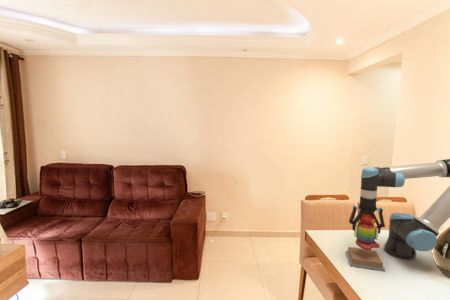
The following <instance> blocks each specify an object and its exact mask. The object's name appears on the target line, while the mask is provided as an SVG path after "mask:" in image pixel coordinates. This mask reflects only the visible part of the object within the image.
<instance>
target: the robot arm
mask: <svg viewBox="0 0 450 300" xmlns="http://www.w3.org/2000/svg"><path fill="white" fill-rule="evenodd" d="M432 177H439V178H442V179H444V178H450V158H446V159H439V160H436V161H435V162H427V163H426V162H425V163H417V164H408V165H395V166H387V167H378V166H373V167H363V168H362V170H361V175H360V178H361V179H360V192H359V193H360V194H359V195H360V196H359V204H358V205H355V204H353V205H352V210H351V211H352V212H351V214H350V217H349V219H348V222H349V224H350V225H352V227H351V229H352V231H353V236H354V238H357V237H356V236H357V225H358V223H359V221H360V218H361V217H362V215H363V214H370V215H371V214H372V216H373V218H374V219H375V224H376V225H374V227H375V231H376V237H375V240H376V241H378V239H379V234H381V229H382V228H385V226H386V225H385V221H384V215H383V212H384V209H382V207H377V197H378V196H377V195H378V187H380V188H381V187H382V188H402V187H403V186H404V185H405V182H406V181H405V180H410V179H420V178H432ZM358 210H359V211H358ZM357 211H358V214H357V215H356V213H357ZM376 211H377V212H378V217H379V220H378V219H377V217H376V214H375V212H376ZM449 219H450V185H449V186H448V187H447V188H446V189H445V190H444V191H443V192H442V193H441V194H440V195H439V196H438V198H436V200H435V201H434V202H433V203H432V204H431V205H430V206H429V207H428V208H427V209H426V211H424V213H422V214H421V216H419V217H416V216H414V215H412V214H409V213H402V212H392V213H391V214H390V216H389V227H388V236H387V239H386V241H385V243H384V247H383V250H384V251H385V252H386V253H387V254H389V255H390V256H392V257H395V258H398V259H402V260H403V259H404V260H414V259H416V257H417V252H416V251H418V252H430V251H432V250H434V249H435V247H437V245H438V238H437V237H439V235H440V231H439V229H440V228H441V227H442V226H443V225H444V224H445V223H446V222H447V221H448V220H449ZM379 221H380V222H379Z"/></svg>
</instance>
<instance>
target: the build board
mask: <svg viewBox="0 0 450 300" xmlns="http://www.w3.org/2000/svg"><path fill="white" fill-rule="evenodd" d="M345 254H346V257H347V260H348V264H349V267H354V268H359V269H365V270H370V271H371V270H372V271H377V272H383V273H384V272H386V269H385V267H384V262H383V261H382V259H381V258H380V256H379V253H378V252H377V250H374V249H371V250H364V249H362V248H361V247H352V246H348V247H347V250H346V251H345Z"/></svg>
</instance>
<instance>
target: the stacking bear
mask: <svg viewBox="0 0 450 300" xmlns="http://www.w3.org/2000/svg"><path fill="white" fill-rule="evenodd" d="M359 221H360V222H359ZM359 221H358V223H357V236H356V237H355V238H356V240H355V244H356V245H357V246H358V248H361V249H364V250H373V248H374V249H377V248H378V249H379V248H380V244H379V243H378V242H377V241H375V240H376V239H375V237H376V231H375V225H374V224H376V222H375V219H374V218H373V216H372V214H371V215H370V214H363V215H362V217H361V218H360V219H359Z"/></svg>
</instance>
